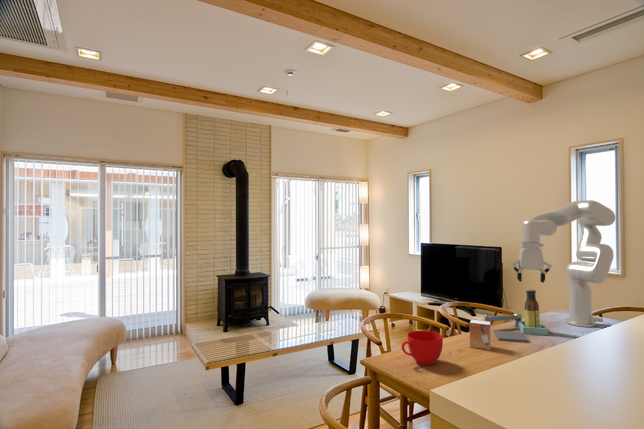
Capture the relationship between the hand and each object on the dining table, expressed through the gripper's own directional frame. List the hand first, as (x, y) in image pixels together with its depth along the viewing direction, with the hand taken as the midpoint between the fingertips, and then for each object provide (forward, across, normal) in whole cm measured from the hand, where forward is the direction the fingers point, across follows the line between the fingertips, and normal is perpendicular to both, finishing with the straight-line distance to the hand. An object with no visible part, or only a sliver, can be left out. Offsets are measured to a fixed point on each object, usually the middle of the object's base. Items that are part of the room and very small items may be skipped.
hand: (531, 281), depth 183 cm
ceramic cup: (+25, +50, +54) cm, 78 cm away
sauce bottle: (+24, -1, 0) cm, 24 cm away
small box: (+25, +26, +30) cm, 47 cm away
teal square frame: (+24, 0, -2) cm, 24 cm away
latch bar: (+20, +12, -3) cm, 23 cm away
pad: (+24, +11, +12) cm, 29 cm away
